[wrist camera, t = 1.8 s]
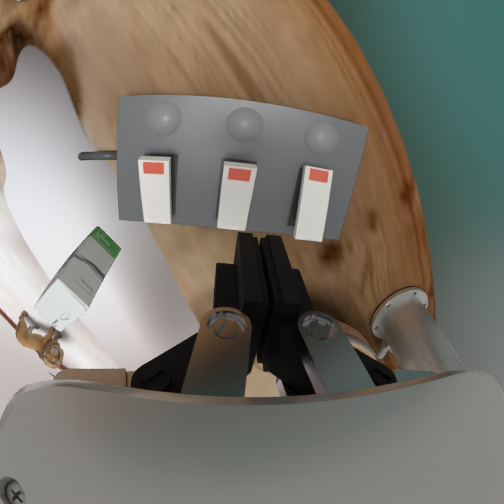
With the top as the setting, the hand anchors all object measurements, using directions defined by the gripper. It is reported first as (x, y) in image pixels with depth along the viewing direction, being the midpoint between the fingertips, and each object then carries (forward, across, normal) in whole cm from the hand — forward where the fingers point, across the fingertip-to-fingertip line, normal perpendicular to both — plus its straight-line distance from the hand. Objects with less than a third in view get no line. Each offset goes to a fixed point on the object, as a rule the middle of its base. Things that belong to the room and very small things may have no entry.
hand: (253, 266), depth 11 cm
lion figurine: (+21, +36, +33) cm, 53 cm away
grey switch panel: (+21, +3, +1) cm, 21 cm away
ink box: (+21, +19, +14) cm, 32 cm away
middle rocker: (+17, 0, +3) cm, 17 cm away
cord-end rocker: (+17, +8, +3) cm, 19 cm away
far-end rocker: (+17, -8, +3) cm, 19 cm away
